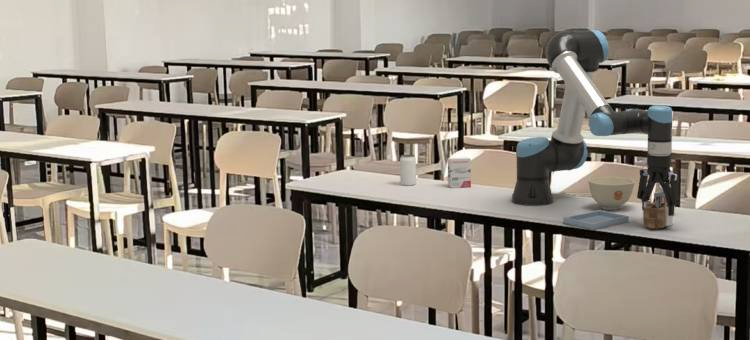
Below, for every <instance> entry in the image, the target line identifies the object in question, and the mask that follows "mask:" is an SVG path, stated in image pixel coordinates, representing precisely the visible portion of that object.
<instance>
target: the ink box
mask: <svg viewBox="0 0 750 340" xmlns="http://www.w3.org/2000/svg"><path fill="white" fill-rule="evenodd" d="M471 160H472V159H471V158H470V157H468V156H464V157H462V156H461V157H447V186H448V188H450V189H461V188H471V186H472V181H471V179H472V174H471V173H472V170H471V168H472V167H471V165H472V164H471Z"/></svg>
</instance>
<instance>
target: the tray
mask: <svg viewBox="0 0 750 340" xmlns="http://www.w3.org/2000/svg"><path fill="white" fill-rule="evenodd" d="M562 222H563V223H562V224H564V225H566V226H567V225H568V226H571V227H572V226H573V227H577V228H580V229H585V230H590V231H595V230H599V229H603V228H608V227H613V226H616V225H621V224H626V223H629V222H630V215H625V214H621V213H615V212H611V211H605V210H601V209H600V210H599V209H598V210H593V211H588V212H585V213H579V214H574V215H570V216H566V217H565V216H564V217H563V221H562Z"/></svg>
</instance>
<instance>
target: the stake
mask: <svg viewBox="0 0 750 340" xmlns="http://www.w3.org/2000/svg"><path fill="white" fill-rule="evenodd" d="M661 196H664V192H660V191H657V192H654V193H653V197H654V198H655V200H654V202H655V208H660V207H661Z"/></svg>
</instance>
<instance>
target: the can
mask: <svg viewBox="0 0 750 340" xmlns="http://www.w3.org/2000/svg"><path fill="white" fill-rule="evenodd" d="M416 162H417V161H416V157H415V154H402V155H400V157H399V180H400V181H399V182H400V183H399V184H400V185H401V186H404V187H410V186H411V187H413V186H415V185H416V184H417V165H416Z"/></svg>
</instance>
